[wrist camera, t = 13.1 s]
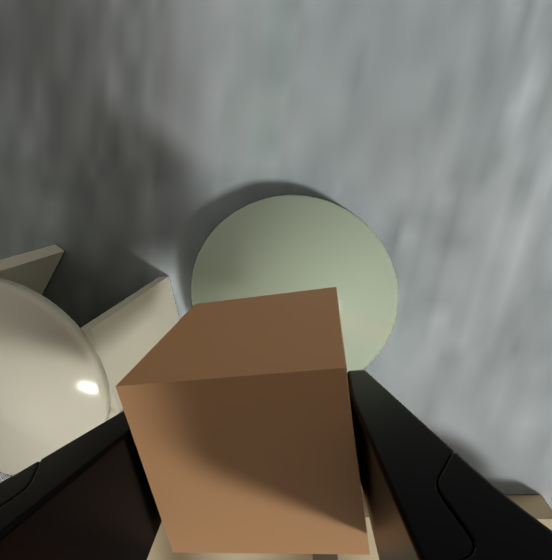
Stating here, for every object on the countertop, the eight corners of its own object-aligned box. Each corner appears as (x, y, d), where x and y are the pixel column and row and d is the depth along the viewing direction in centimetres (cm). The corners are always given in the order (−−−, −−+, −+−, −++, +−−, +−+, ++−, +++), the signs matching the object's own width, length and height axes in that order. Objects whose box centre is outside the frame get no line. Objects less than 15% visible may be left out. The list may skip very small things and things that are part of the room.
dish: (399, 375, 16) (403, 385, 15) (218, 385, 17) (213, 395, 16) (388, 179, 13) (391, 179, 12) (178, 210, 15) (170, 212, 14)
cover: (193, 374, 17) (128, 476, 11) (64, 382, 18) (-51, 478, 13) (157, 230, 15) (56, 266, 9) (15, 250, 16) (-150, 292, 11)
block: (352, 413, 10) (369, 554, 6) (224, 421, 11) (172, 552, 7) (336, 286, 9) (344, 367, 5) (195, 303, 10) (115, 386, 6)
